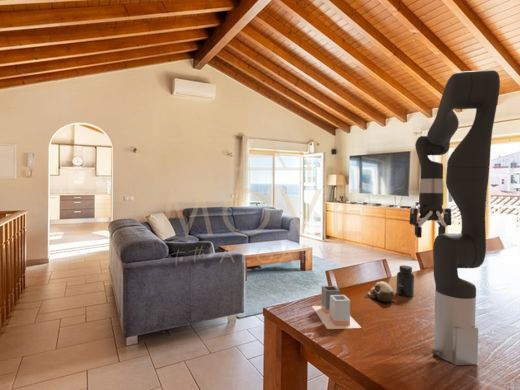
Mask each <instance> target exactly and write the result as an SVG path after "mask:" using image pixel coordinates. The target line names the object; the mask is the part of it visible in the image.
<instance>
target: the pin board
mask: <svg viewBox="0 0 520 390" xmlns="http://www.w3.org/2000/svg"><path fill="white" fill-rule="evenodd" d="M311 307H312V309H313V310H314V311H315V313H316V314H317V316H318V317H319V319H320V321H322V324H323V325H324V326H325V327H326V329H327V330H336V329H337V330H340V329H342V330H343V329H344V330H345V329H362V327H361V325H360V324H359V323H358V322H357V321H356V320H355V319H354V318H353V317H352V316H351V315H350V325H340V326H335V325H334V324H333V323H332V321H331V320H330V314H326V313H325V312H324V311H323V310H322V308H321V305H312V306H311Z"/></svg>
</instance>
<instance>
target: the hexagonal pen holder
mask: <svg viewBox="0 0 520 390" xmlns="http://www.w3.org/2000/svg"><path fill="white" fill-rule="evenodd" d="M350 316H351V299H349V298H348V297H347V296H346V295H345V294H340V295H330V320H331V321H332V323H333V324H334V325H335V326H340V325H350Z"/></svg>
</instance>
